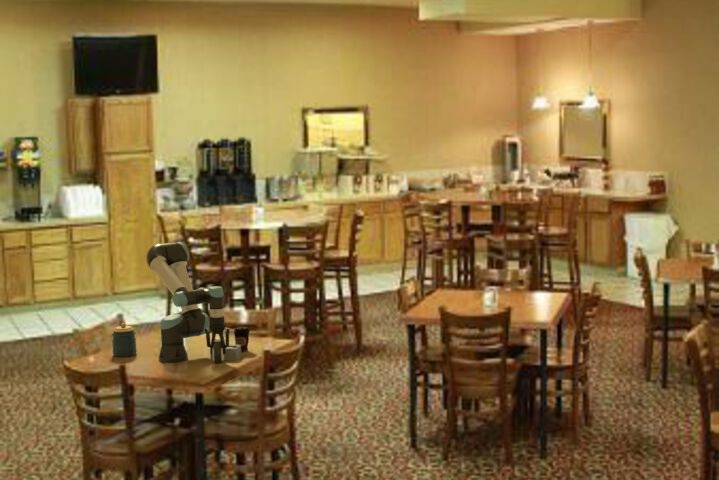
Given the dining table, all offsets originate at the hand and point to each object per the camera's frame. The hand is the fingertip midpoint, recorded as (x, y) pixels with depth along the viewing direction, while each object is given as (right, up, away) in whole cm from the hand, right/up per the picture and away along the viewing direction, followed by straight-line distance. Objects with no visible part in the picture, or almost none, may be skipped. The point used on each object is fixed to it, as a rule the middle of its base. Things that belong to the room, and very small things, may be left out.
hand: (218, 360), depth 526 cm
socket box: (+2, 0, +11) cm, 11 cm away
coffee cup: (+9, +2, +26) cm, 27 cm away
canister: (-55, 0, +24) cm, 60 cm away
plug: (0, -1, 0) cm, 1 cm away
